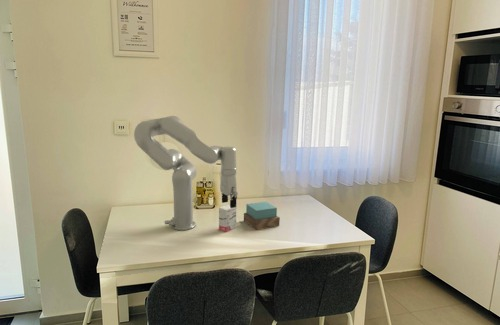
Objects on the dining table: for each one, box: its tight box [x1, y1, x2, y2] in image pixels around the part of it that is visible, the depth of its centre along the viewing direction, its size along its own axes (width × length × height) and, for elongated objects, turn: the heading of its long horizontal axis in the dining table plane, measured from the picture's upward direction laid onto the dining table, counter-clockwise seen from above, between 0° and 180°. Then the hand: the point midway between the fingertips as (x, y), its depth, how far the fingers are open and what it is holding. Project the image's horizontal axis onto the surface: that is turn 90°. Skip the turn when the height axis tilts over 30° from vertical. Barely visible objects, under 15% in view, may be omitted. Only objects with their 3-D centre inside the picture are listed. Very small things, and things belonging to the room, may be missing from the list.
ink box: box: [218, 203, 237, 233], centre depth 189 cm, size 9×5×12 cm, turn 143°
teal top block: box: [245, 201, 278, 220], centre depth 198 cm, size 12×12×5 cm
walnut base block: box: [243, 212, 281, 231], centre depth 199 cm, size 14×14×5 cm
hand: (229, 204), depth 187 cm, fingers open, 9 cm apart
